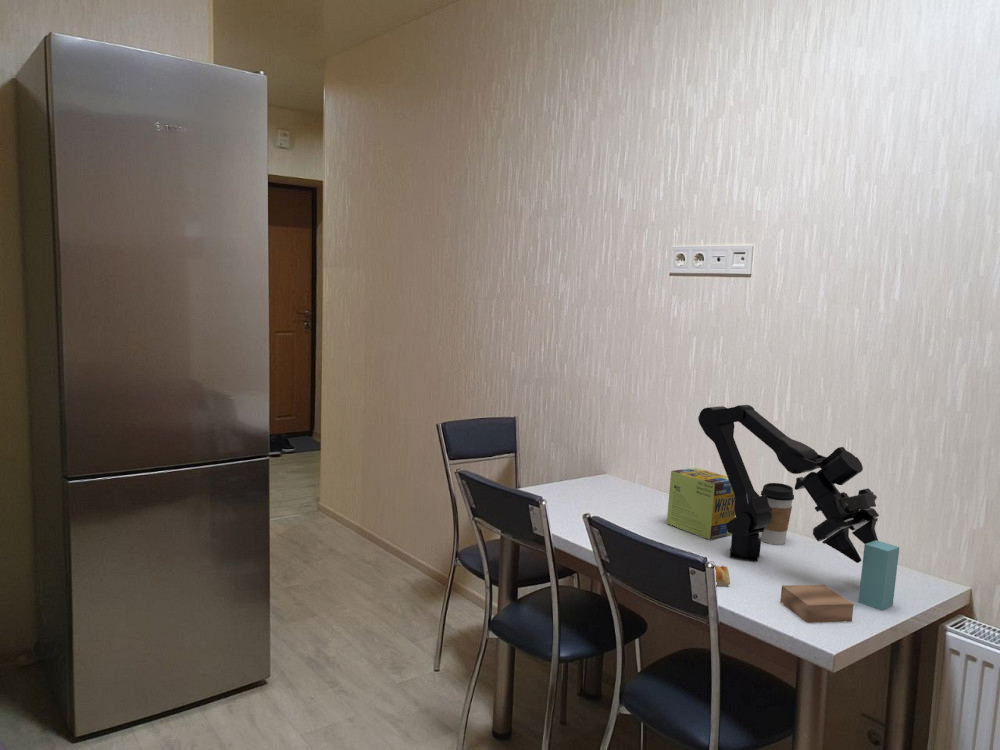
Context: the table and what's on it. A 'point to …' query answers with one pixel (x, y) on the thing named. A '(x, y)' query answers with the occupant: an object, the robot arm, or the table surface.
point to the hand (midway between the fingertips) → (870, 558)
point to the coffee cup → (777, 512)
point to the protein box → (700, 502)
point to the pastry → (722, 576)
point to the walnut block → (816, 603)
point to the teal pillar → (878, 575)
